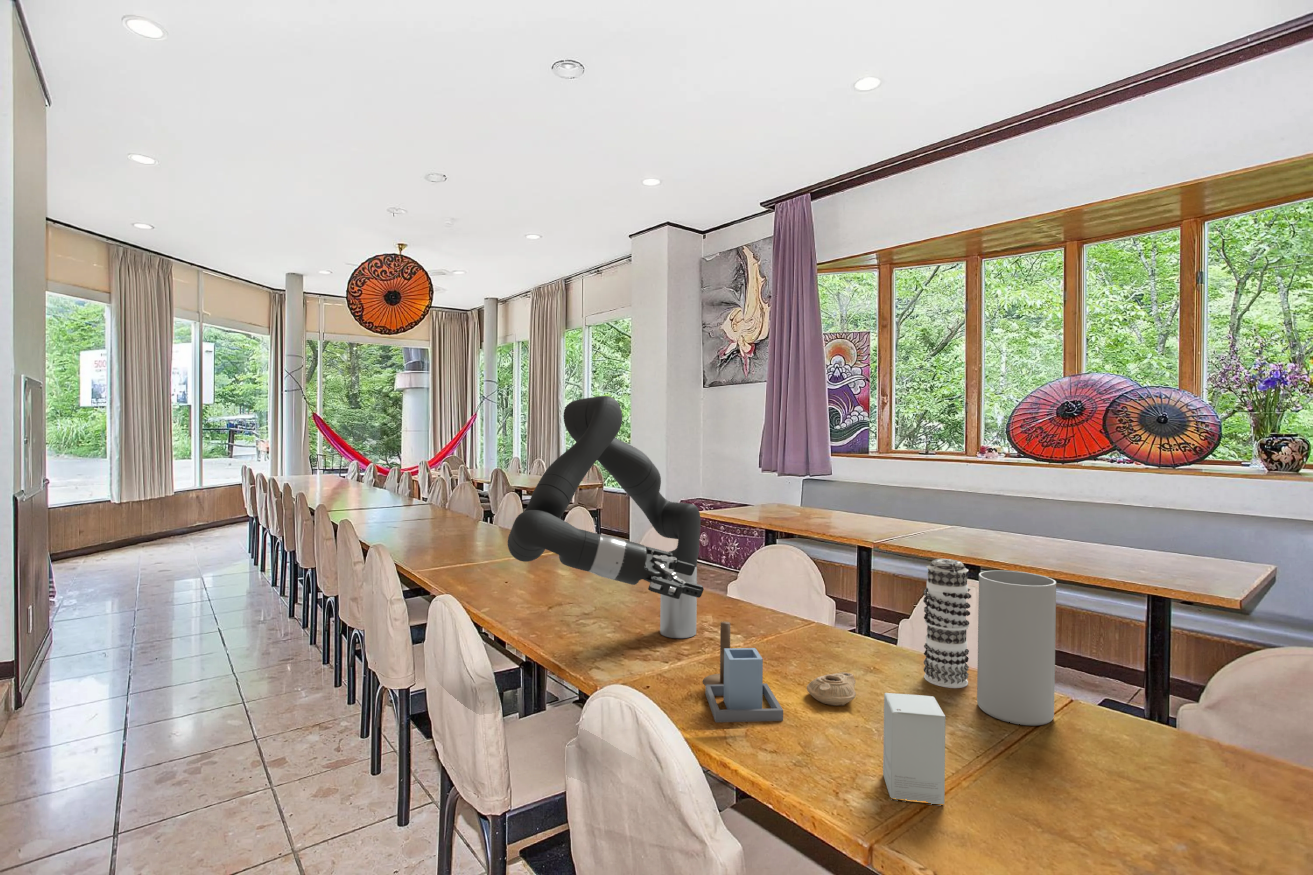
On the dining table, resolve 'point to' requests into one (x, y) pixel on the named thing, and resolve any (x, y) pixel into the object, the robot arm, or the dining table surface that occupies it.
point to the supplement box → (914, 748)
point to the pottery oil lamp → (833, 688)
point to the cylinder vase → (1016, 646)
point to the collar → (743, 678)
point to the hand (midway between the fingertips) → (697, 580)
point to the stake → (723, 644)
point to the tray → (744, 714)
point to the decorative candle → (946, 624)
